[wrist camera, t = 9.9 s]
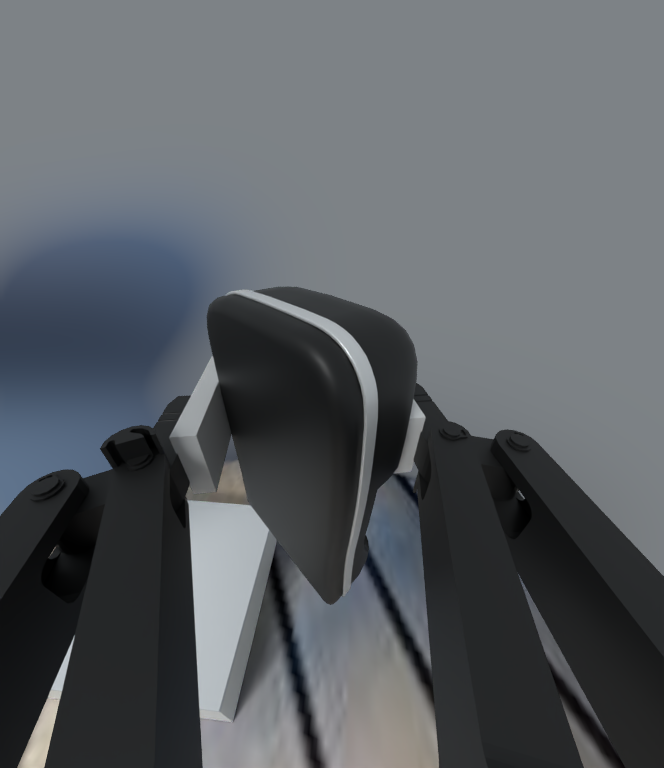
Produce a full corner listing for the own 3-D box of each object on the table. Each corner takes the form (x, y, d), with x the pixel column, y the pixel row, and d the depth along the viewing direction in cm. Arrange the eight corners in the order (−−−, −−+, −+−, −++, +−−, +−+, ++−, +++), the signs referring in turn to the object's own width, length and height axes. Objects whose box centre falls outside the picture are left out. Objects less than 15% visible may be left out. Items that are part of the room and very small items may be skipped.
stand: (25, 695, 18) (-17, 680, 15) (146, 519, 28) (130, 495, 25) (232, 722, 17) (218, 711, 15) (279, 530, 27) (275, 507, 25)
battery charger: (390, 548, 13) (456, 312, 7) (333, 619, 10) (353, 358, 4) (299, 464, 17) (288, 271, 11) (244, 501, 15) (190, 283, 9)
